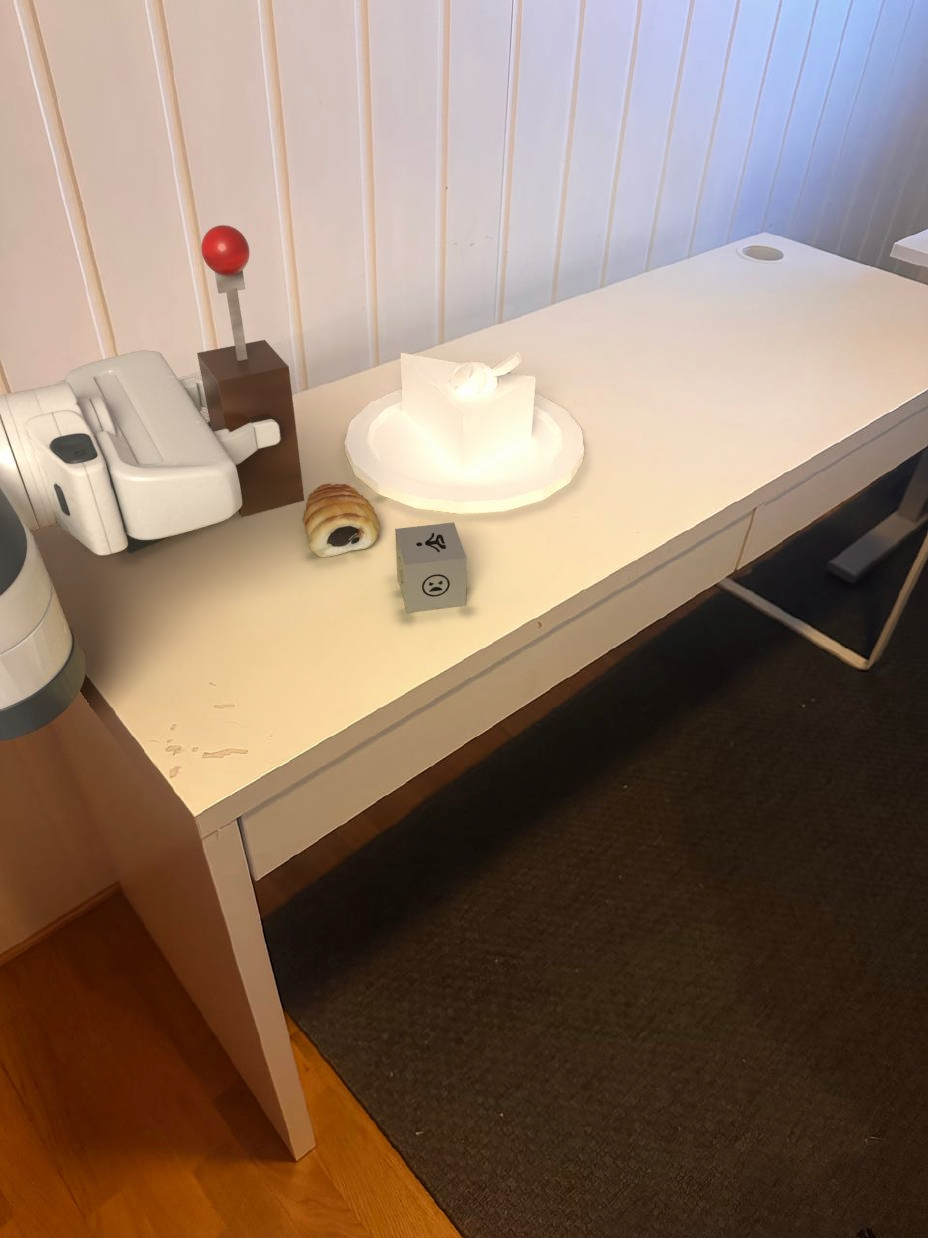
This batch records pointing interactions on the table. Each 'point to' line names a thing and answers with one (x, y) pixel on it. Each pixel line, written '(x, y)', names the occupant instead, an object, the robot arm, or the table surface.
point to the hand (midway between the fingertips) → (261, 408)
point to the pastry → (339, 520)
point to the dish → (464, 439)
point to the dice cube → (431, 567)
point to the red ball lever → (249, 387)
